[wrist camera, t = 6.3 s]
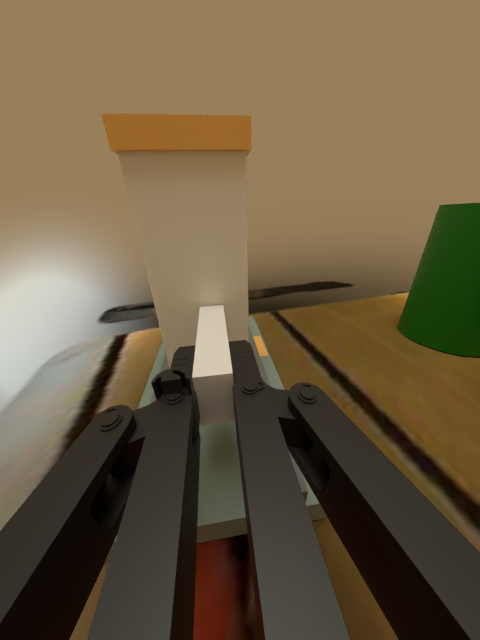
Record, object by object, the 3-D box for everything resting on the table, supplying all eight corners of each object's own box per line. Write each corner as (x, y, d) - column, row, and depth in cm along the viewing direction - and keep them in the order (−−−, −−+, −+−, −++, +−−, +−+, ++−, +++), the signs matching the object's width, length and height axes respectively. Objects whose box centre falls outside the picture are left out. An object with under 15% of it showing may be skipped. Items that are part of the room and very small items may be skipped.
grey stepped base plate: (326, 518, 12) (337, 486, 10) (101, 561, 11) (74, 533, 9) (253, 328, 31) (253, 307, 30) (171, 336, 30) (166, 314, 28)
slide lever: (252, 393, 17) (251, 114, 9) (173, 403, 16) (99, 111, 9) (245, 363, 21) (240, 141, 13) (179, 370, 20) (131, 141, 12)
